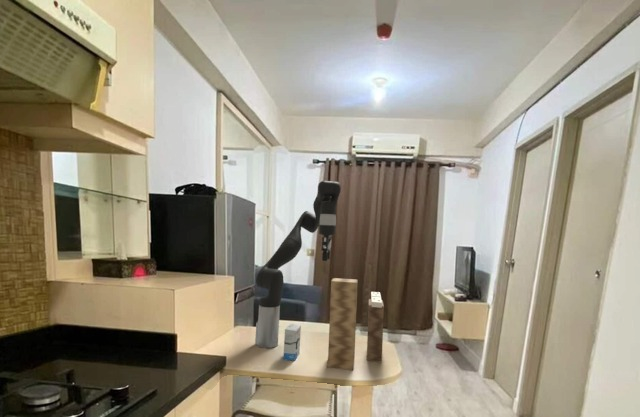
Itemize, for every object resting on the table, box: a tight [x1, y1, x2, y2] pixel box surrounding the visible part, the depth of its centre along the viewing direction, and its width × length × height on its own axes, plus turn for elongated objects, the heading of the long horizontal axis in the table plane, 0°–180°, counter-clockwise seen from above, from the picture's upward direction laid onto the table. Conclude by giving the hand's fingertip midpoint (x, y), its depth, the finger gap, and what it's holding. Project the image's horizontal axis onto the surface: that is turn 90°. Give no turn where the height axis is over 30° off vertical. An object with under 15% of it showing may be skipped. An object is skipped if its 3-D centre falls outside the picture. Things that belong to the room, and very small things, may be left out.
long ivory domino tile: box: [370, 291, 382, 308], centre depth 146 cm, size 4×22×2 cm, turn 172°
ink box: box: [283, 323, 302, 361], centre depth 138 cm, size 8×5×12 cm, turn 168°
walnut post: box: [366, 298, 385, 362], centre depth 143 cm, size 6×12×22 cm, turn 172°
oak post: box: [326, 277, 358, 371], centre depth 134 cm, size 10×11×32 cm
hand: (326, 259), depth 154 cm, fingers open, 8 cm apart
